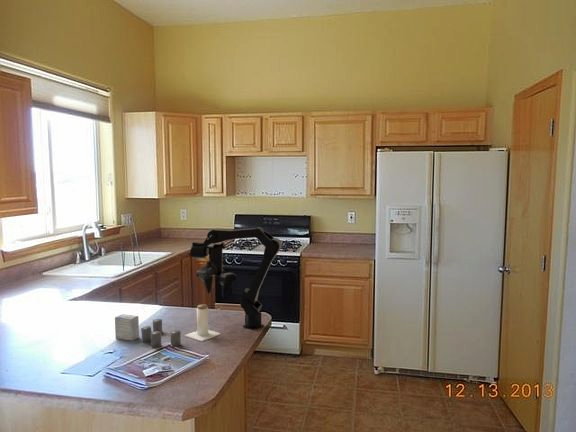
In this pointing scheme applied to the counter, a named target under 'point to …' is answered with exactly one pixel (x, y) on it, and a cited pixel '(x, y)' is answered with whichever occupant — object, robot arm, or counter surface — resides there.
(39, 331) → the counter surface
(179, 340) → the spacer
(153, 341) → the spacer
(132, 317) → the medicine box
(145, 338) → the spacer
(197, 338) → the mat
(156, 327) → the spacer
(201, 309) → the jar
